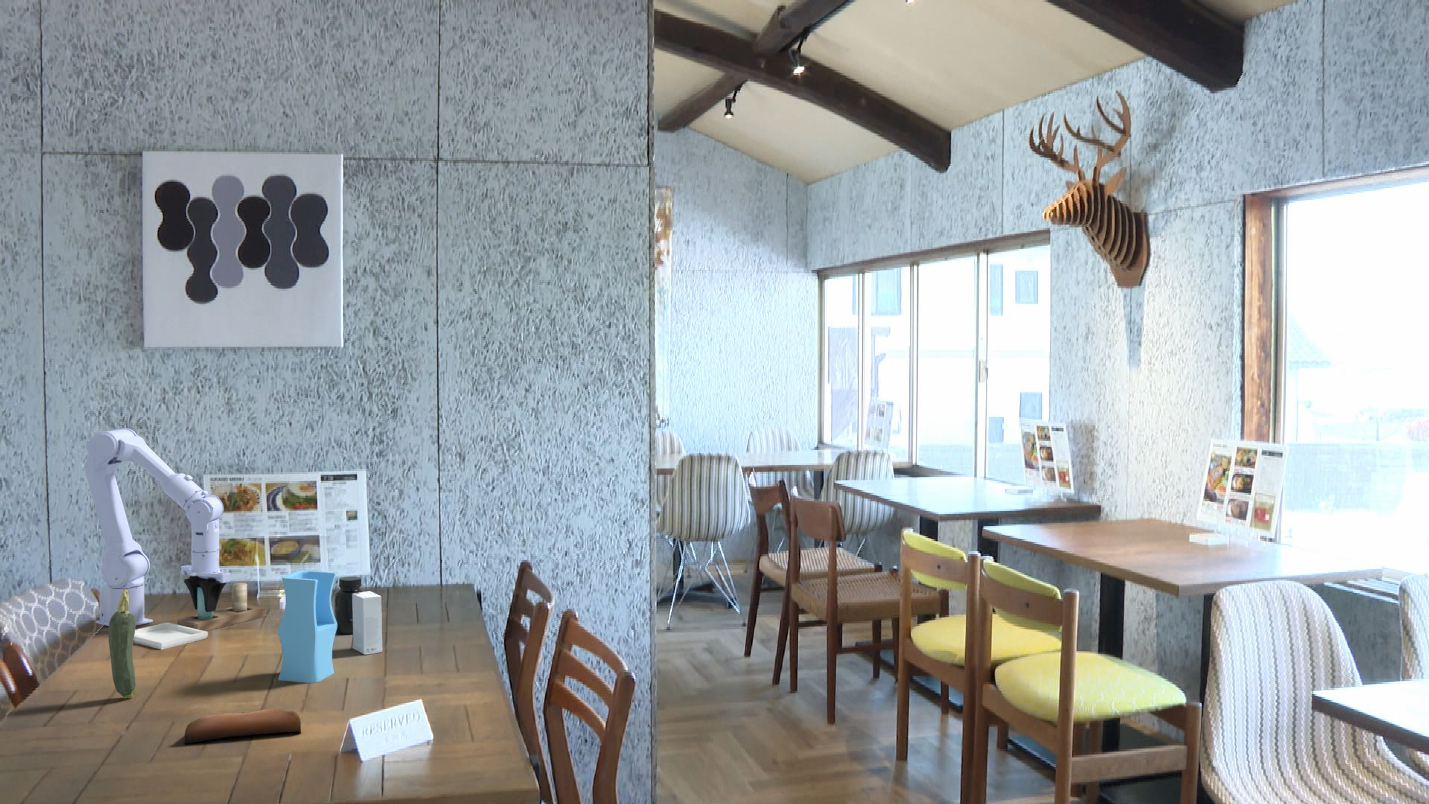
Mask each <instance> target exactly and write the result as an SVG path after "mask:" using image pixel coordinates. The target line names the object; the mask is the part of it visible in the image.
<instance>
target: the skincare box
mask: <svg viewBox="0 0 1429 804" xmlns="http://www.w3.org/2000/svg"><path fill="white" fill-rule="evenodd" d="M352 606H353V634H352V636H353V638H352V639H353V650H355V651H357V652H359V653H361V654H363V655H373V654H378V653H382V652H383V627H382V626H383V625H382V623H383V621H382V619H383V616H382V596H381V595H379V594H377V593H375V592H373V591H370V590H369V591H364V592H360V593H354V594H352Z"/></svg>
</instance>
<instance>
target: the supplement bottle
mask: <svg viewBox="0 0 1429 804" xmlns="http://www.w3.org/2000/svg"><path fill="white" fill-rule="evenodd" d="M362 585H363V584H362V577H359V576H343V577H340V578H339V579H338V588H339V589H338V590H336V591H335V592H334V594H333V613H334V616H335V619H336V621H337V630H336V633H335V634H339V635H353V606H352V594H354V593H360V592H365V590H363V589H362V588H361V587H362Z"/></svg>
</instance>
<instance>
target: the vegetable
mask: <svg viewBox="0 0 1429 804" xmlns="http://www.w3.org/2000/svg"><path fill="white" fill-rule="evenodd" d="M128 608H129V594H128V590H126V589H124V592H123V593H122V595H121V599H120V601H119V604H118V607H117V609H118V612H116V613H115V614H114V615H113V616H112V617H111V619H110V623H109V626H108V633H107V634H108V646H109V655H110V664H111V666H110V667H111V674H112V680H113V681H112V682H113V686H114V688H115V691H116V692H117V694H120V695H121V696H122V698H123V699H125V700H126V699H129V698H130V699H132V698H133V695H135V694H136V689H135V688H136V673H135V672H136V671H135V665H134V659H133V657H134V656H133V648H134V643H133V640H134V635H135V630H136V621H135V618H134V616H133V615H132V614H131V613H130V612H129V611H127V610H128Z"/></svg>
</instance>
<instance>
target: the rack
mask: <svg viewBox="0 0 1429 804" xmlns="http://www.w3.org/2000/svg"><path fill="white" fill-rule="evenodd" d="M266 616H267V608H266V607H262V606H257V605H254V604H248V603H247V611H244V612H239V613H236V612H232V606H231V607H227V608H223V609H222V608H221V609H218V610H217V609H216V610H215V611H213V619H209V620H205V621H201V620H197V614H195V615H191V616H186V617H181V618H178V619H177V625H181V626H185V627H189V628H194V629H198V630H202V631H207V632H208V631H211V630H214V629H219V628H223V627H227V626H231V625H237V624H240V623H244V622H249V621H252V620H256V619H260V618H266Z"/></svg>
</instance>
